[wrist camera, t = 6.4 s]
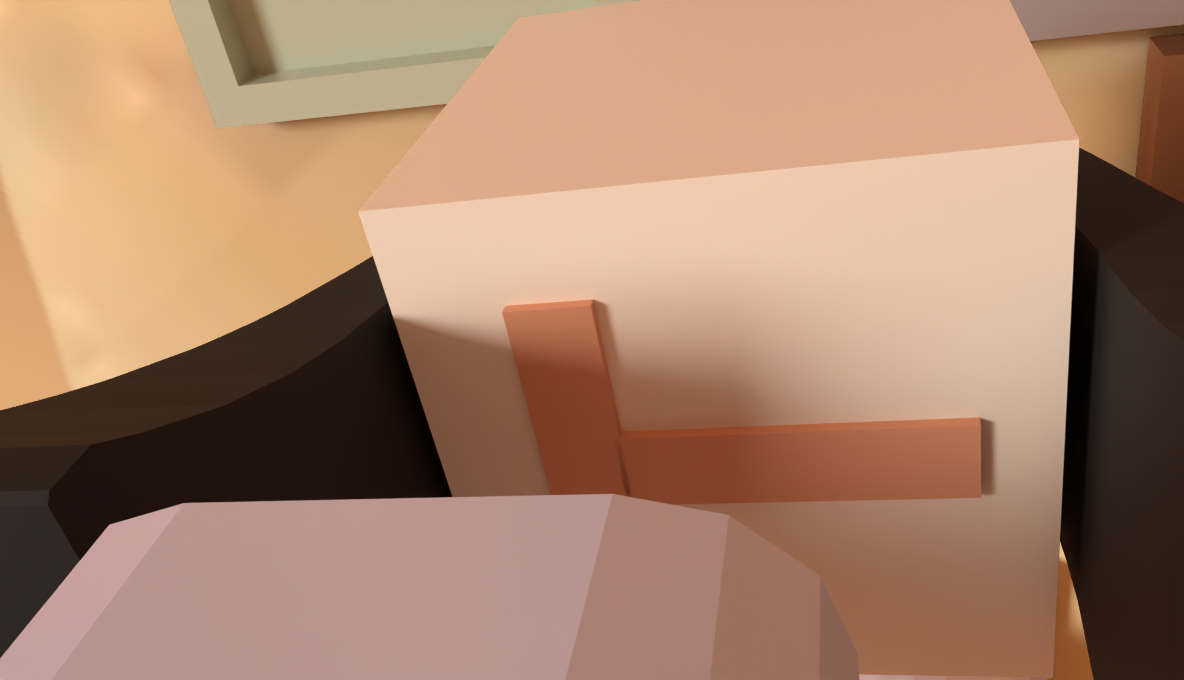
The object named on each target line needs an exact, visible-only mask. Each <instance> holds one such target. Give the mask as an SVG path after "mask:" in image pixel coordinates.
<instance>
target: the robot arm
mask: <svg viewBox="0 0 1184 680" xmlns="http://www.w3.org/2000/svg"><path fill="white" fill-rule="evenodd" d="M1060 543H1061V546H1062V549H1063V552H1064V554H1065V557H1066V560H1067V564H1068V567H1069V571H1070V574H1071V578H1072V582H1073V585H1074V589H1075V593H1076V596H1077V600H1078V604H1079V609H1080V614H1081V619H1082V624H1083V629H1084V634H1085V639H1086V643H1087V648H1088V653H1089V658H1090V663H1091V668H1092V673H1093V678H1094V680H1184V203H1183V202H1181V201H1179V200H1177V199H1175V198H1173V197H1171V196H1169V195H1167V194H1165V193H1163V192H1161V191H1159V190H1157V189H1155V188H1153V187H1152V186H1150V185H1148V184H1146V183H1144V182H1142V181H1140V180H1139V179H1137V178H1135V177H1133V176H1131V175H1129V174H1128V173H1126V172H1124V171H1122V170H1120V169H1119V168H1117V167H1115V166H1113V165H1111V164H1109V163H1108V162H1106V161H1104V160H1102V159H1100V158H1098V157H1097V156H1095V155H1093V154H1091V153H1089V152H1087V151H1085V150H1083V149H1081V148H1079V157H1078V178H1077V199H1076V219H1075V240H1074V260H1073V281H1072V301H1071V322H1070V342H1069V363H1068V384H1067V404H1066V425H1065V445H1064V466H1063V486H1062V507H1061V528H1060ZM0 680H1047V678H1028V677H973V676H919V675H865V674H859V666H858V654H857V651H856V649H855V647H854V645H853V643H852V641H851V639H850V637H849V635H848V633H847V631H846V628H845V626H844V624H843V622H842V620H841V618H840V616H839V614H838V612H837V610H836V608H835V605H834V603H833V601H832V599H831V597H830V595H829V593H828V591H827V589H826V587H825V584H824V582H823V580H822V578H821V576H820V575H819V574H817V573H816V572H814V571H813V570H811V569H810V568H808V567H806V566H805V565H803V564H802V563H800V562H799V561H797V560H796V559H794V558H793V557H791V556H790V555H788V554H787V553H785V552H784V551H782V550H781V549H779V548H778V547H776V546H775V545H773V544H772V543H770V542H769V541H767V540H766V539H764V538H763V537H761V536H760V535H758V534H757V533H755V532H754V531H752V530H751V529H749V528H748V527H746V526H745V525H743V524H742V523H740V522H739V521H737V520H736V519H734V518H733V517H731V516H730V515H726V514H721V513H715V512H710V511H704V510H699V509H693V508H688V507H682V506H677V505H671V504H666V503H660V502H655V501H649V500H644V499H638V498H633V497H627V496H622V495H616V494H582V495H536V496H489V497H452V494H451V491H450V488H449V485H448V482H447V479H446V476H445V473H444V469H443V466H442V463H441V460H440V457H439V454H438V451H437V448H436V445H435V442H434V439H433V436H432V433H431V430H430V427H429V424H428V421H427V418H426V415H425V412H424V409H423V406H422V403H421V400H420V397H419V394H418V391H417V388H416V385H415V382H414V379H413V376H412V373H411V370H410V367H409V364H408V361H407V358H406V355H405V352H404V349H403V346H402V342H401V339H400V336H399V333H398V330H397V327H396V324H395V321H394V318H393V315H392V312H391V309H390V306H389V303H388V300H387V297H386V294H385V291H384V288H383V285H382V282H381V279H380V276H379V273H378V270H377V267H376V264H375V261H374V258H373V256H372V257H370V258H369V259H367V260H365V261H364V262H362V263H360V264H359V265H357V266H355V267H354V268H352V269H350V270H349V271H347V272H345V273H343V274H341V275H340V276H338V277H336V278H334V279H333V280H331V281H329V282H327V283H326V284H324V285H322V286H320V287H318V288H317V289H315V290H313V291H311V292H310V293H308V294H306V295H304V296H303V297H301V298H299V299H297V300H295V301H294V302H292V303H290V304H288V305H286V306H284V307H283V308H281V309H279V310H277V311H275V312H273V313H271V314H269V315H267V316H265V317H263V318H261V319H259V320H257V321H255V322H252V323H250V324H248V325H246V326H244V327H242V328H239V329H237V330H235V331H233V332H230V333H228V334H226V335H224V336H222V337H219V338H217V339H215V340H213V341H210V342H208V343H206V344H203V345H201V346H198V347H196V348H194V349H191V350H188V351H186V352H183V353H180V354H178V355H175V356H172V357H169V358H167V359H164V360H161V361H158V362H156V363H153V364H150V365H148V366H145V367H142V368H139V369H137V370H134V371H131V372H128V373H126V374H123V375H120V376H118V377H115V378H112V379H109V380H106V381H103V382H100V383H96V384H93V385H90V386H86V387H83V388H80V389H77V390H73V391H70V392H67V393H63V394H60V395H57V396H53V397H49V398H46V399H42V400H39V401H34V402H31V403H27V404H23V405H20V406H16V407H12V408H8V409H4V410H0Z"/></svg>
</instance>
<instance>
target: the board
mask: <svg viewBox="0 0 1184 680" xmlns="http://www.w3.org/2000/svg"><path fill="white" fill-rule="evenodd" d="M1136 178H1137V179H1139V180H1140V181H1142V182H1144V183H1146V184H1148V185H1150V186H1152V187H1153V188H1155V189H1157V190H1159V191H1161V192H1163V193H1165V194H1167V195H1169V196H1171V197H1173V198H1175V199H1177V200H1179V201H1181V202H1183V203H1184V34H1179V35H1170V36H1160V37H1151V38H1150V39H1149V49H1148V59H1147V69H1146V79H1145V88H1144V98H1143V108H1142V118H1141V128H1140V138H1139V148H1138V158H1137V168H1136Z"/></svg>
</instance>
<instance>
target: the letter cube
mask: <svg viewBox="0 0 1184 680" xmlns="http://www.w3.org/2000/svg"><path fill="white" fill-rule="evenodd" d="M1078 157H1079V137H1078V135H1077V133H1076V132H1075V130H1074V128H1073V126H1072V124H1071V122H1070V120H1069V118H1068V116H1067V114H1066V112H1065V110H1064V108H1063V106H1062V104H1061V102H1060V100H1059V98H1058V96H1057V94H1056V92H1055V90H1054V88H1053V86H1052V84H1051V82H1050V80H1049V78H1048V76H1047V74H1046V72H1045V70H1044V68H1043V66H1042V64H1041V62H1040V60H1039V58H1038V56H1037V54H1036V52H1035V50H1034V48H1033V46H1032V44H1031V42H1030V40H1029V38H1028V36H1027V34H1026V32H1025V30H1024V28H1023V26H1022V24H1021V22H1020V20H1019V18H1018V16H1017V14H1016V12H1015V10H1014V8H1013V6H1012V4H1011V2H1010V0H640V1H633V2H626V3H619V4H612V5H606V6H599V7H592V8H585V9H578V10H571V11H564V12H557V13H550V14H544V15H537V16H530V17H523V18H518V19H517V20H516V21H515V23H514V24H513V25H512V26H511V27H510V29H509V30H508V31H507V32H506V33H505V35H504V36H503V37H502V38H501V40H500V41H499V42H498V43H497V44H496V46H495V47H494V48H493V49H492V50H491V52H490V53H489V54H488V55H487V56H486V58H485V59H484V60H483V61H482V62H481V64H480V65H479V66H478V67H477V69H476V70H475V71H474V72H473V73H472V75H471V76H470V77H469V78H468V79H467V81H466V82H465V83H464V84H463V85H462V87H461V88H460V89H459V90H458V92H457V93H456V94H455V95H454V96H453V98H452V99H451V100H450V101H449V102H448V104H447V105H446V106H445V107H444V108H443V110H442V111H441V112H440V113H439V115H438V116H437V117H436V118H435V119H434V121H433V122H432V123H431V124H430V125H429V127H428V128H427V129H426V130H425V131H424V133H423V134H422V135H421V136H420V137H419V139H418V140H417V141H416V142H415V144H414V145H413V146H412V147H411V148H410V150H409V151H408V152H407V153H406V154H405V156H404V157H403V158H402V159H401V160H400V162H399V163H398V164H397V165H396V167H395V168H394V169H393V170H392V171H391V173H390V174H389V175H388V176H387V177H386V179H385V180H384V181H383V182H382V183H381V185H380V186H379V187H378V188H377V190H376V191H375V192H374V193H373V194H372V196H371V197H370V198H369V199H368V200H367V202H366V203H365V204H364V205H363V206H362V208H361V209H360V210H359V211H358V212H359V216H360V219H361V222H362V225H363V228H364V231H365V234H366V237H367V240H368V243H369V246H370V249H371V252H372V255H373V258H374V261H375V264H376V267H377V270H378V273H379V276H380V279H381V282H382V285H383V288H384V291H385V294H386V297H387V300H388V303H389V306H390V309H391V312H392V315H393V318H394V321H395V324H396V327H397V330H398V333H399V336H400V339H401V342H402V346H403V349H404V352H405V355H406V358H407V361H408V364H409V367H410V370H411V373H412V376H413V379H414V382H415V385H416V388H417V391H418V394H419V397H420V400H421V403H422V406H423V409H424V412H425V415H426V418H427V421H428V424H429V427H430V430H431V433H432V436H433V439H434V442H435V445H436V448H437V451H438V454H439V457H440V460H441V463H442V466H443V469H444V473H445V476H446V479H447V482H448V485H449V488H450V491H451V494H452V497H489V496H536V495H582V494H616V495H622V496H627V497H633V498H638V499H644V500H649V501H655V502H660V503H666V504H671V505H677V506H682V507H688V508H693V509H699V510H704V511H710V512H715V513H721V514H726V515H730V516H731V517H733V518H734V519H736V520H737V521H739V522H740V523H742V524H743V525H745V526H746V527H748V528H749V529H751V530H752V531H754V532H755V533H757V534H758V535H760V536H761V537H763V538H764V539H766V540H767V541H769V542H770V543H772V544H773V545H775V546H776V547H778V548H779V549H781V550H782V551H784V552H785V553H787V554H788V555H790V556H791V557H793V558H794V559H796V560H797V561H799V562H800V563H802V564H803V565H805V566H806V567H808V568H810V569H811V570H813V571H814V572H816V573H817V574H819V575H820V576H821V578H822V580H823V582H824V584H825V587H826V589H827V591H828V593H829V595H830V597H831V599H832V601H833V603H834V605H835V608H836V610H837V612H838V614H839V616H840V618H841V620H842V622H843V624H844V626H845V628H846V631H847V633H848V635H849V637H850V639H851V641H852V643H853V645H854V647H855V649H856V651H857V654H858V666H859V674H865V675H919V676H973V677H1028V678H1053V672H1054V651H1055V630H1056V610H1057V589H1058V569H1059V548H1060V528H1061V507H1062V486H1063V466H1064V445H1065V425H1066V404H1067V384H1068V363H1069V342H1070V322H1071V301H1072V281H1073V260H1074V240H1075V219H1076V199H1077V178H1078Z"/></svg>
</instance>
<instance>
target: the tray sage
mask: <svg viewBox="0 0 1184 680" xmlns="http://www.w3.org/2000/svg"><path fill="white" fill-rule="evenodd" d="M633 1H640V0H169V2H170V5H171V7H172V10H173V13H174V15H175V18H176V21H177V23H178V26H179V29H180V31H181V34H182V37H183V39H184V42H185V45H186V47H187V50H188V53H189V55H190V58H191V61H192V63H193V66H194V69H195V71H196V74H197V77H198V79H199V82H200V85H201V87H202V90H203V93H204V95H205V98H206V101H207V103H208V106H209V109H210V111H211V114H212V117H213V119H214V122H215V125H216V127H217V128H226V127H235V126H245V125H254V124H263V123H272V122H282V121H291V120H300V119H310V118H319V117H328V116H338V115H347V114H356V113H366V112H375V111H384V110H394V109H403V108H412V107H422V106H431V105H440V104H448V102H449V101H450V100H451V99H452V98H453V96H454V95H455V94H456V93H457V92H458V90H459V89H460V88H461V87H462V85H463V84H464V83H465V82H466V81H467V79H468V78H469V77H470V76H471V75H472V73H473V72H474V71H475V70H476V69H477V67H478V66H479V65H480V64H481V62H482V61H483V60H484V59H485V58H486V56H487V55H488V54H489V53H490V52H491V50H492V49H493V48H494V47H495V46H496V44H497V43H498V42H499V41H500V40H501V38H502V37H503V36H504V35H505V33H506V32H507V31H508V30H509V29H510V27H511V26H512V25H513V24H514V23H515V21H516V20H517V19H518V18H523V17H530V16H537V15H544V14H550V13H557V12H564V11H571V10H578V9H585V8H592V7H599V6H606V5H612V4H619V3H626V2H633Z"/></svg>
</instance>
